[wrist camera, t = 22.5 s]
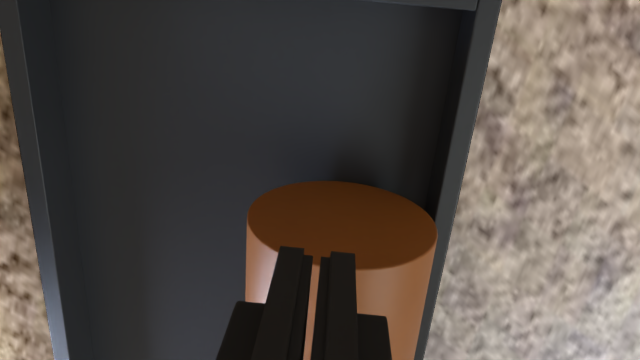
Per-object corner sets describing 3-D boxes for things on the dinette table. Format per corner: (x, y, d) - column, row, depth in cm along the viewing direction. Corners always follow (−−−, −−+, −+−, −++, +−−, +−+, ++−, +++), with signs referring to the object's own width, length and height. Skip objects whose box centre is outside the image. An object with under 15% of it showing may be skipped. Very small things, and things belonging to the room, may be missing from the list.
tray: (484, -12, 18) (505, -12, 16) (369, 549, 31) (371, 596, 29) (32, -55, 18) (-16, -61, 16) (107, 520, 31) (87, 564, 29)
